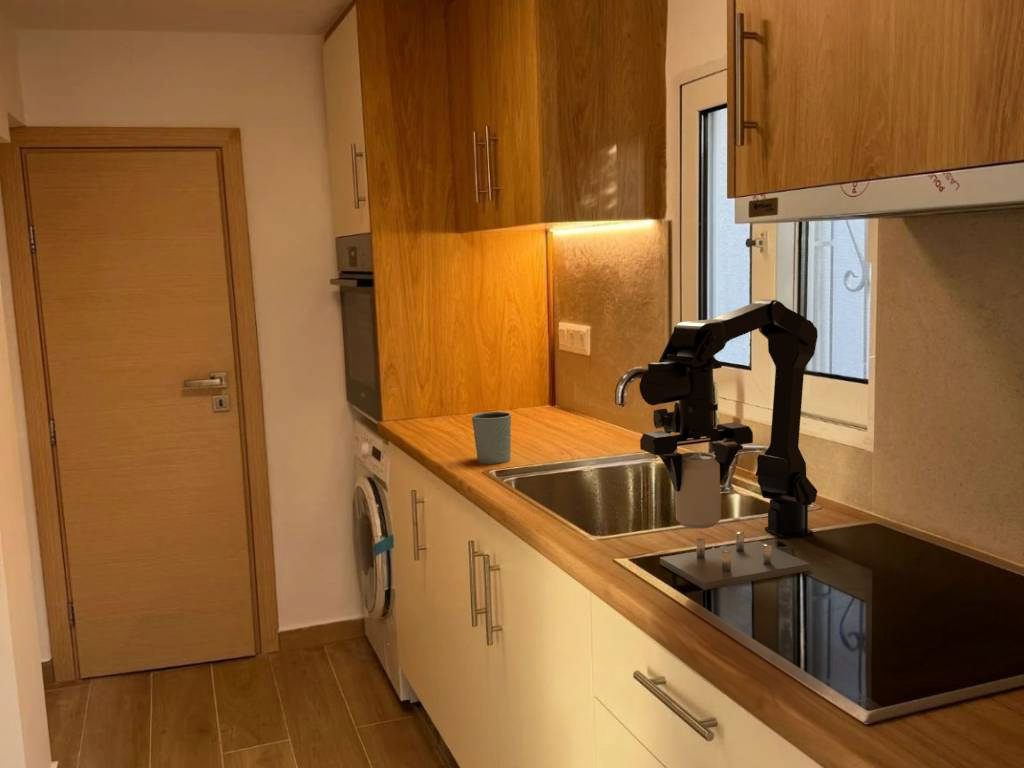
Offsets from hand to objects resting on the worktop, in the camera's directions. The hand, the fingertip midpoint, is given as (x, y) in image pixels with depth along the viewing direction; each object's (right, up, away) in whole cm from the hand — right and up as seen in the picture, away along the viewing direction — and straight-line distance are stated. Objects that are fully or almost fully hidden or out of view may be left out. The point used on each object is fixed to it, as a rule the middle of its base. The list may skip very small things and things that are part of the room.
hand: (697, 488), depth 166 cm
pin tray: (+6, -13, -2) cm, 14 cm away
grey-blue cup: (-36, -2, +87) cm, 94 cm away
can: (0, -6, +1) cm, 6 cm away
